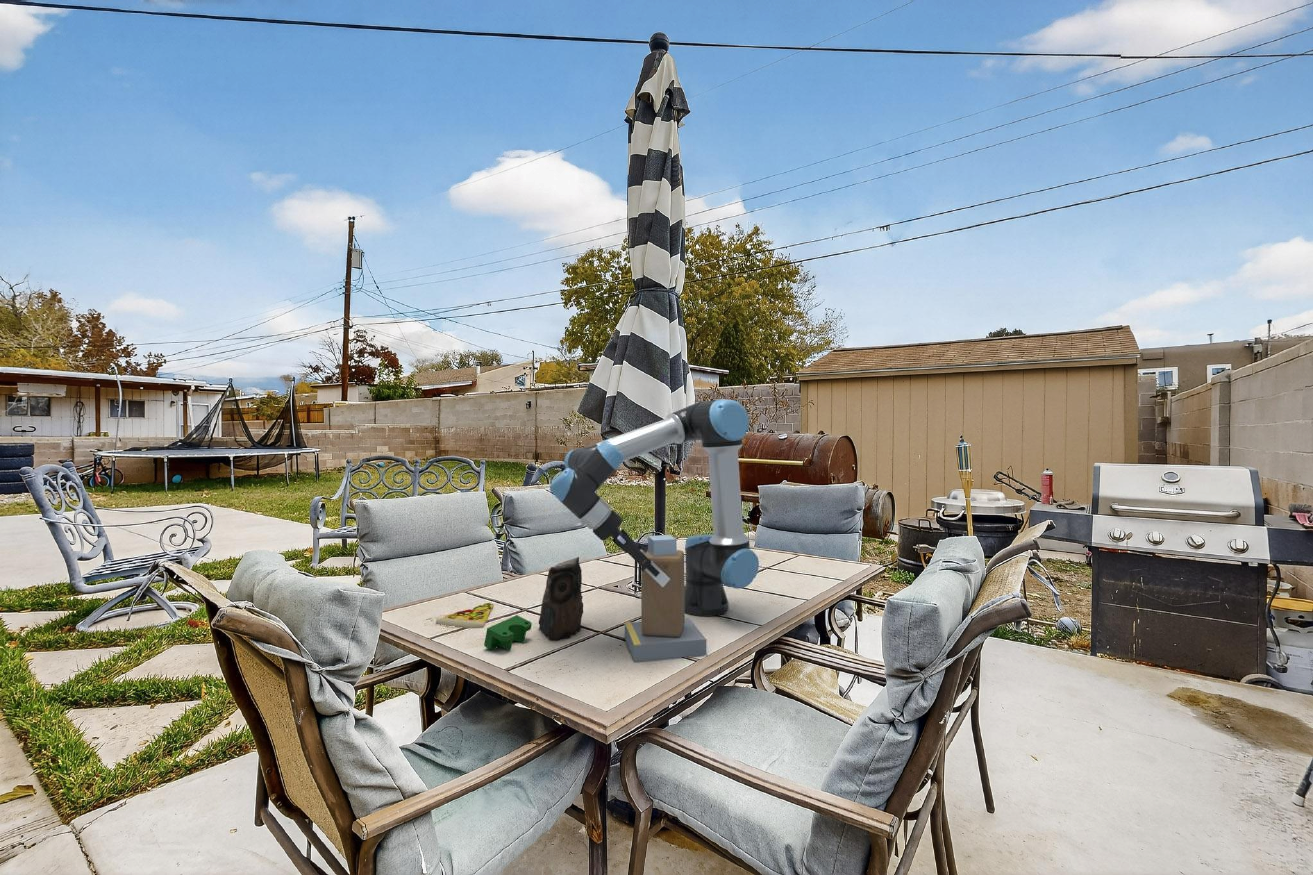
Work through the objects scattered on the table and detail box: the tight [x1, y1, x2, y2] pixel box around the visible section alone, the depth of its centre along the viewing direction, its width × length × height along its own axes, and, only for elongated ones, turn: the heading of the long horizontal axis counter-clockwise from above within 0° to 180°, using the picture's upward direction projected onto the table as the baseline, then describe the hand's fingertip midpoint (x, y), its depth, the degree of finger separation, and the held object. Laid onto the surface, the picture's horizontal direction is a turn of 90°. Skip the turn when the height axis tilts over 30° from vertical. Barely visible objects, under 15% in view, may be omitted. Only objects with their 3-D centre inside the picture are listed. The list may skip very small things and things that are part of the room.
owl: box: [538, 556, 584, 642], centre depth 149 cm, size 13×13×20 cm
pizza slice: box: [435, 602, 494, 629], centre depth 164 cm, size 16×21×3 cm
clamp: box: [483, 614, 533, 651], centre depth 141 cm, size 12×6×9 cm, turn 148°
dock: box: [624, 617, 707, 663], centre depth 139 cm, size 18×16×4 cm
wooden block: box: [640, 549, 686, 637], centre depth 139 cm, size 10×10×20 cm
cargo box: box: [647, 534, 678, 556], centre depth 139 cm, size 6×6×4 cm
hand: (660, 576), depth 139 cm, fingers open, 13 cm apart
